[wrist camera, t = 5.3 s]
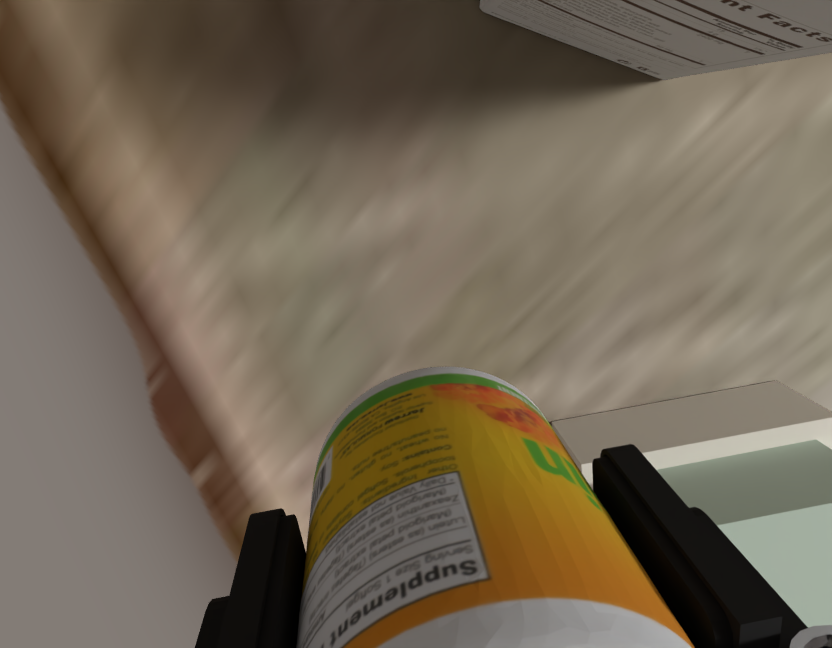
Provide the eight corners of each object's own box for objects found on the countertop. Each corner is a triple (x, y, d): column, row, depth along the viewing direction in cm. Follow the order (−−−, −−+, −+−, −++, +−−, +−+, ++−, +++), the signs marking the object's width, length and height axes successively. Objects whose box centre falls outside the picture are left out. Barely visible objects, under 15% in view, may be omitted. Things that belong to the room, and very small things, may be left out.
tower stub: (551, 421, 29) (621, 522, 22) (776, 380, 30) (922, 464, 22) (565, 606, 33) (629, 746, 25) (764, 566, 34) (884, 691, 26)
